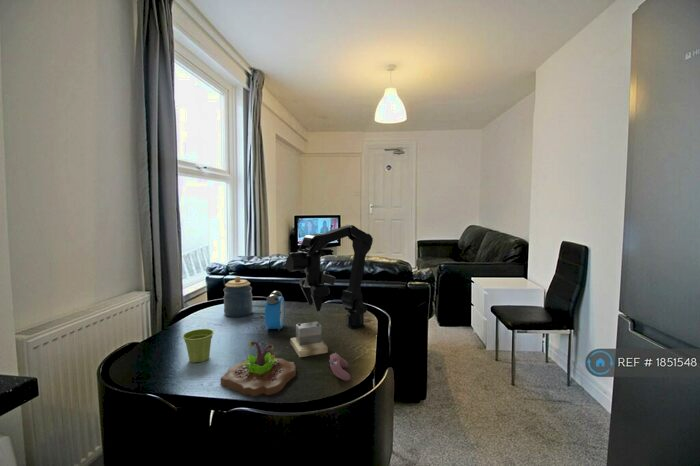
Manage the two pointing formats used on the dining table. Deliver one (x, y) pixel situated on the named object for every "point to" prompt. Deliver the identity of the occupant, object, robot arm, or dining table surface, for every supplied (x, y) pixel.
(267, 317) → the alarm clock
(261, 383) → the plant
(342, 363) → the video game controller
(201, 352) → the plant pot
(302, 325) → the box
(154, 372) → the dining table surface
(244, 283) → the canister
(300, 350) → the beige tray
